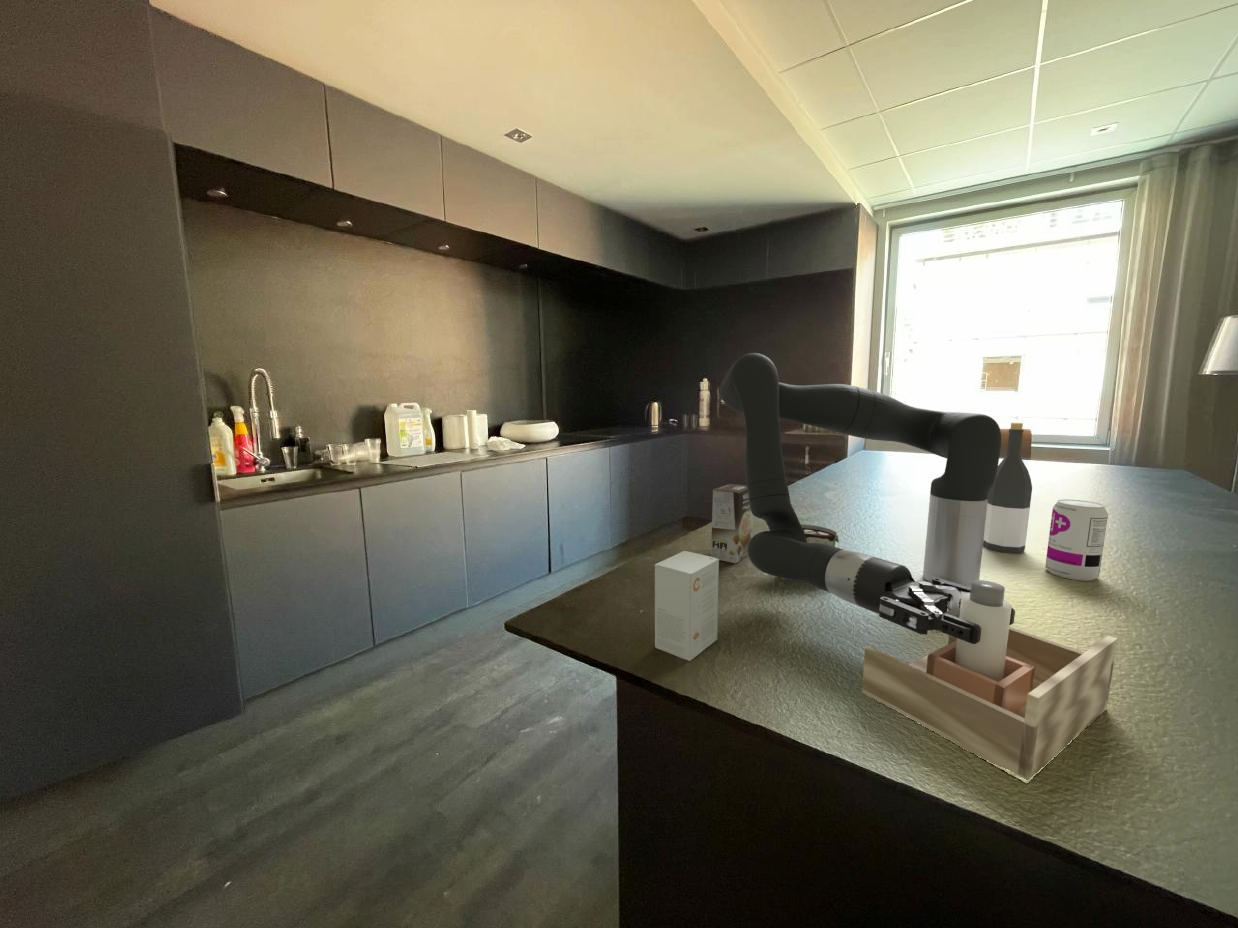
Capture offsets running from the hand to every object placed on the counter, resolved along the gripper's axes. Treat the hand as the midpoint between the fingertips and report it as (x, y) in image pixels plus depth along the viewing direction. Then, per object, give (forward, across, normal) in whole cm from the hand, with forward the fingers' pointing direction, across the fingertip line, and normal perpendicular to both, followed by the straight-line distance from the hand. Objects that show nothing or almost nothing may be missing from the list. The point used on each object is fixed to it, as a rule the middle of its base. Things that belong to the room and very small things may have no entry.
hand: (997, 626), depth 58 cm
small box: (-30, -22, +10) cm, 39 cm away
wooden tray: (-1, 0, +10) cm, 10 cm away
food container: (-40, +16, +10) cm, 44 cm away
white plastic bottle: (-1, 0, +9) cm, 9 cm away
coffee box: (-56, +12, +10) cm, 58 cm away
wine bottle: (-26, +71, +10) cm, 76 cm away
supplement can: (-11, +63, +10) cm, 65 cm away
